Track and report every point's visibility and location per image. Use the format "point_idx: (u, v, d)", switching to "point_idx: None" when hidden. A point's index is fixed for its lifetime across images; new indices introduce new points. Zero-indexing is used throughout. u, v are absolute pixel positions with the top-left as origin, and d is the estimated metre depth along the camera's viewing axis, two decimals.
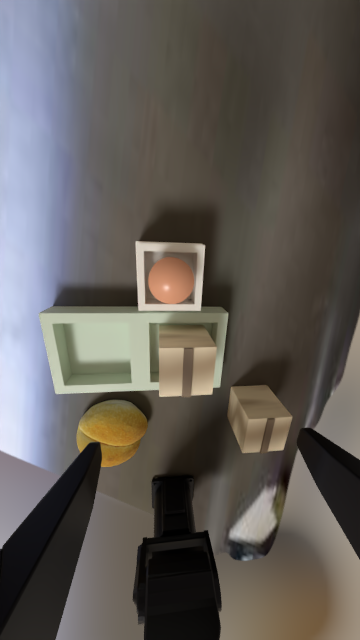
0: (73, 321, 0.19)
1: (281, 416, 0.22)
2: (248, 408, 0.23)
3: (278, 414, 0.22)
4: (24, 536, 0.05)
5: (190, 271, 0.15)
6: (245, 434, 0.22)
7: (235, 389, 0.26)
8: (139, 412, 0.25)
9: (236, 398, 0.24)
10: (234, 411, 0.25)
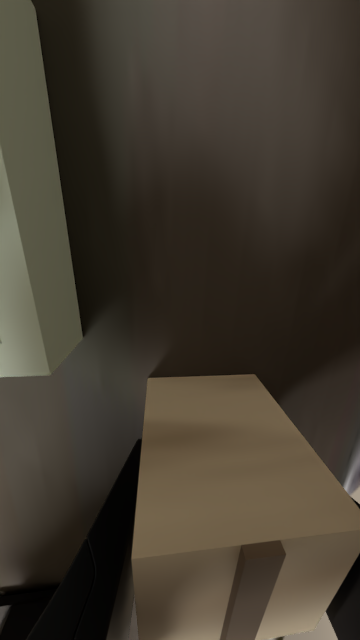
0: None
1: (319, 529, 0.04)
2: (166, 468, 0.05)
3: (299, 514, 0.04)
4: (104, 527, 0.05)
5: None
6: (136, 609, 0.04)
7: (156, 386, 0.08)
8: None
9: (144, 417, 0.07)
10: None
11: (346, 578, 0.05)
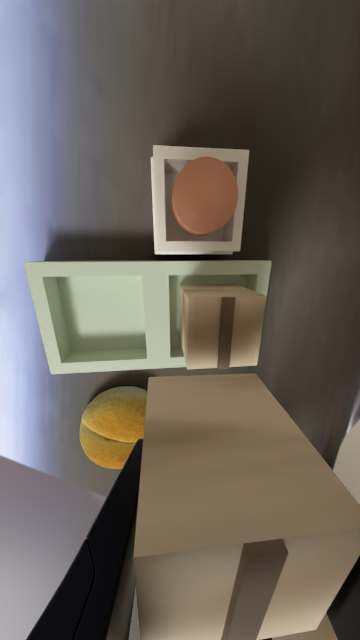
0: (70, 273, 0.14)
1: (322, 527, 0.04)
2: (168, 466, 0.05)
3: (301, 512, 0.04)
4: (104, 527, 0.05)
5: (233, 179, 0.11)
6: (138, 608, 0.04)
7: (157, 385, 0.08)
8: None
9: (146, 415, 0.07)
10: None
11: (346, 578, 0.05)
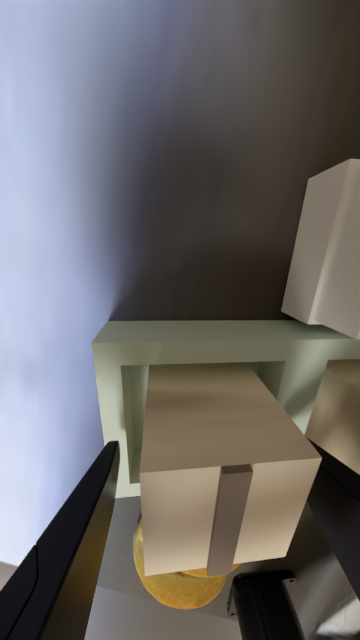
0: (169, 359, 0.08)
1: (280, 458, 0.05)
2: (166, 421, 0.06)
3: (266, 449, 0.06)
4: (56, 533, 0.05)
5: None
6: (142, 522, 0.06)
7: (157, 365, 0.10)
8: None
9: (147, 388, 0.08)
10: None
11: None
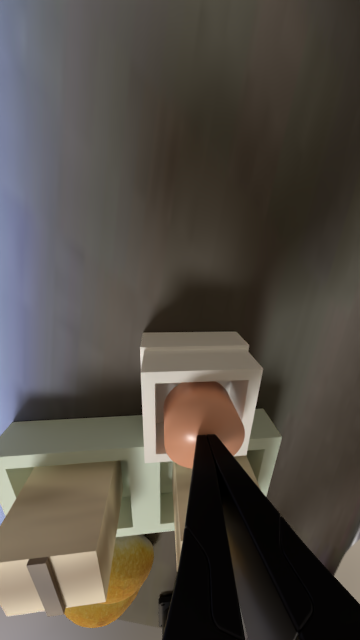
0: (40, 464, 0.12)
1: (70, 551, 0.09)
2: (19, 518, 0.10)
3: (66, 544, 0.09)
4: (199, 517, 0.05)
5: (239, 424, 0.09)
6: None
7: None
8: (142, 545, 0.18)
9: (27, 481, 0.12)
10: None
11: (255, 592, 0.05)
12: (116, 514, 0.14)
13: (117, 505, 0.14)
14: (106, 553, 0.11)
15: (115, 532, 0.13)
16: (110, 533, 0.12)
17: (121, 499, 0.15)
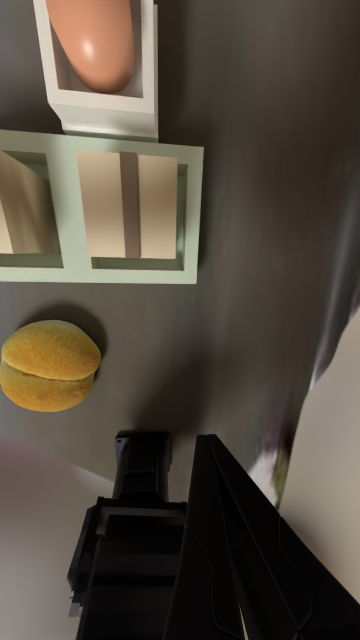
0: None
1: None
2: None
3: None
4: (199, 517, 0.05)
5: None
6: None
7: None
8: (86, 337, 0.18)
9: None
10: None
11: (255, 592, 0.05)
12: (42, 236, 0.14)
13: (44, 233, 0.14)
14: (14, 209, 0.11)
15: (39, 245, 0.13)
16: (25, 215, 0.12)
17: (55, 252, 0.15)
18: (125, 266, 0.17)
